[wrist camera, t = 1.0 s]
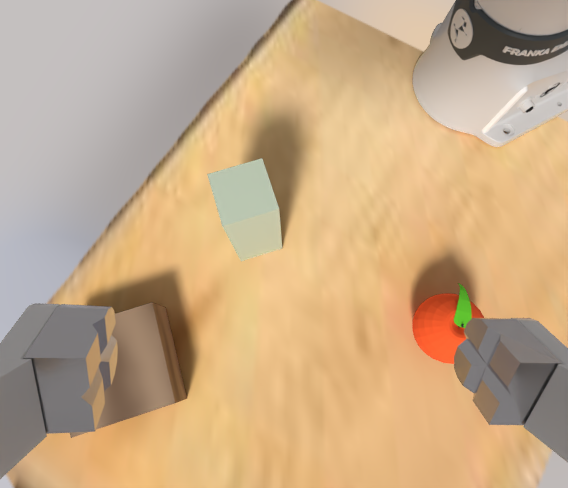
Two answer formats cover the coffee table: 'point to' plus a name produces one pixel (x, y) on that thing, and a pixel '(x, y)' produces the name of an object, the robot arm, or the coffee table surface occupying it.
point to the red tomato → (443, 324)
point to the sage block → (247, 208)
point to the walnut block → (142, 366)
